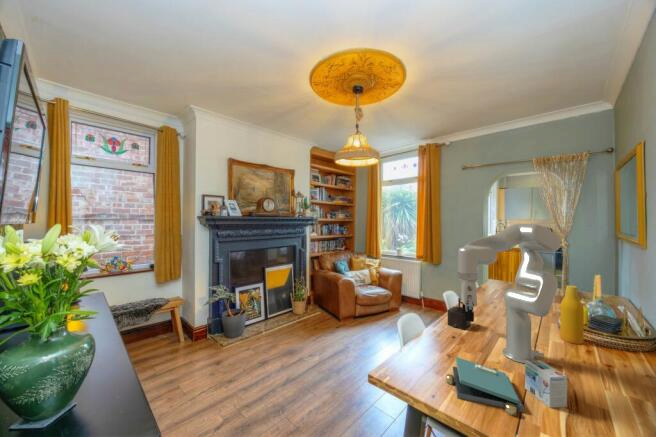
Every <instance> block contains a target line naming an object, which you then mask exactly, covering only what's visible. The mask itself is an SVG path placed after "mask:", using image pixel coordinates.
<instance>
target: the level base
mask: <svg viewBox="0 0 656 437" xmlns="http://www.w3.org/2000/svg"><path fill="white" fill-rule="evenodd" d="M493 369H494V368H493ZM494 370H497V369H494ZM497 371H499V370H497ZM507 377H508V379H509V381H510V383H511V385H512V387H513V389H514V391H515V393H516V395H517V397H518V399H519V404H517V403H514V402H511V401H509V400H506V399H503V398H500V397H498V396H495V395H492V394H489V393H486V392H484V391H481V390H478V389H475V388H473V387H470V386H467V385H464V384H461V383H460V379H459V374H458V369H457V366H452V374H450V373H449V374H448V373H447V374H446V377H445V378H446V379H445V383H446V384H448V385H450V386H454V387H455V392H456V398H457V399H459V400H465V401H469V402H474V403H478V404H483V405H486V406H490V407H491V406H492V407H495V408H496V407H497V408H501V409H505V410H504V411H505V413H506V414H507V415H508V416H511V417H516V416H517V412H519V413H524V405H523V403H522V401H521V399H520V398H519V395H518V393H517V391H516V389H515V388H514V385H513V384H512V382H511V380H510V377H509V376H508V375H507Z"/></svg>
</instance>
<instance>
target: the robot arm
mask: <svg viewBox="0 0 656 437" xmlns="http://www.w3.org/2000/svg"><path fill="white" fill-rule="evenodd" d="M561 242H562V241H561V238H560V237H559V235H557V234H556V233H555V232H554V231H551V230H550V229H548V228H547V227H544V226H543V225H539V224H535V223H516V224H515V223H513V224H512V225H510V226H508V227H506V228H505V229H502V230H501V231H499V232H497V233H495V234H492V235H487V236H484V237H480V238H477V239H474V240H472V241H470V242H468V243H466V244H464V246H463V247H459V248H458V250H457V253H458V254H457V255H458V256H457V257H458V258H457V259H458V260H457V263H458V264H457V270H458V271H457V273H458V274H457V279H458V280H459V281H460V295H461V296H460V297H461V302H463V304H462V303H461V304H462V306H461V307H462V313H463V314H465V321H470V322H471V323H474V321H475V320H474V318H475V312H474V307H477V305H478V302H477V300H478V298H477V297H478V296H477V284H476V282H479V265H484V266H485V265H492V264H494V263H495V262H496V261H497V258H498V254H497V253H500V252H501V253H502V252H507V251H510V250H512V249H513V248H514V247H516V246H518V248H519V251H520V253H521V260H520V264H519V267H518V269H517V272H516V275H515V278H514V283H515V284H516V286H518V287H520V288H522V289H520V288H509V289H507V290H505V292H504V294H503V302H504V306H505V312H506V321H505V322H506V326H505V327H506V333H505V334H506V335H505V338H506V341H505V342H506V344H505V345H506V346H505V348H503V349H502V350H501V352H502V355H503V356H504V357H506V358H507V359H509V360H512V361H514V362H517V363H522V364H525V361H537V360H536V357H537V358H543V359H544V358H545V354H544V353H543V352H540V351H538V350H535V349H532V320H531V316H530V315H533V316H536V317H541V318H544V317H546V316H547V315H548V314H549V313H550V311H551V309H552V306H553V302H554V299H555V297H556V294H557V291H558V287H559V284H558V279H557V277H556V275H554V274H553V273H552V272H548V271H543V267H544V265H545V264H544V263H545V262H544V260H543V257H542V256H541V255H540V253H539V252H548V253H553V252H556V251H558V250H559V249H560V248H561V245H562V243H561ZM523 289H525V290H523ZM528 290H530V291H533V292H530V291H528ZM473 304H474V305H475V306H473Z"/></svg>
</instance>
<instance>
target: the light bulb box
mask: <svg viewBox="0 0 656 437" xmlns="http://www.w3.org/2000/svg"><path fill="white" fill-rule="evenodd" d="M524 364H525V367H524V368H525V371H524V372H525V373H524V374H525V375H524V377H525V378H524V383H525V384H524V387H525V390H526V391H527V392H529V393H530V394H531V395H533V396H534V397H535V398H537V399H538V400H539V401H540V400H541V401H540V402H541V403H543V404H544V405H545V406H547V407H548V408H567V407H568V375H566V374H564V373H563V372H561V371H559V370H558V369H555V368H554V367H553V366H551V365H550V364H548V363H546V362H544V361H543V360H535V361H525V363H524Z"/></svg>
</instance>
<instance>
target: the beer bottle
mask: <svg viewBox="0 0 656 437" xmlns="http://www.w3.org/2000/svg"><path fill="white" fill-rule="evenodd" d="M561 300H562V301H561V302H560V307H559V308H560V316H559V318H560V319H559V320H560V321H559V322H560V326H559V327H560V328H559V329H560V332H559V337H560V339H561V340H563V341H565V342H567V343H569V344H575V345H583V344H584V342H585V341H584V336H585V334H584V332H585V331H584V321H585V320H584V316H585V314H584V313H585V312H584V310H585V309H584V305H583V304H582V302H581V300H580V296H579V291H578V286H576V285H570V284H569V285H568V284H567V285H566V287H565V294H564V297H563V298H562V299H561Z"/></svg>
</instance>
